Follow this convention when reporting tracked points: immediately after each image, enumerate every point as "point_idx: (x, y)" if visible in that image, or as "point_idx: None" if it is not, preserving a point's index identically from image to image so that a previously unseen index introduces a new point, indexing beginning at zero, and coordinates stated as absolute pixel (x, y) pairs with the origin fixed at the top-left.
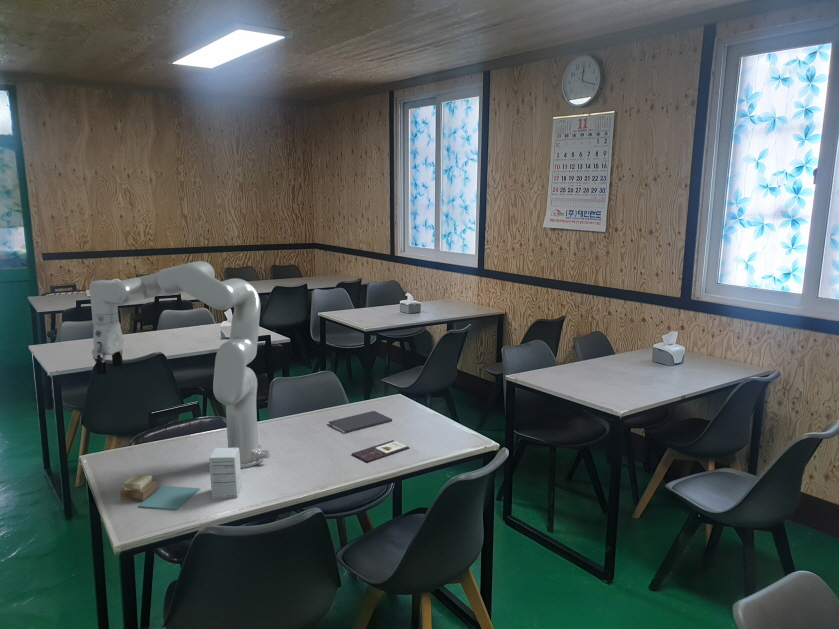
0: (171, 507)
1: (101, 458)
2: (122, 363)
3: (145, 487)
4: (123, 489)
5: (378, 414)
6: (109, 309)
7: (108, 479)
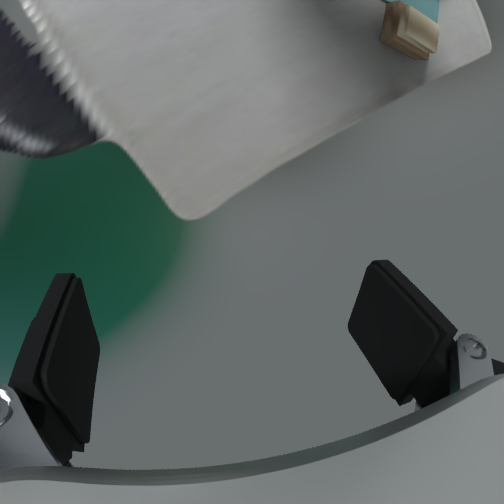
0: None
1: (204, 180)
2: (54, 286)
3: None
4: (425, 54)
5: None
6: None
7: (331, 107)
